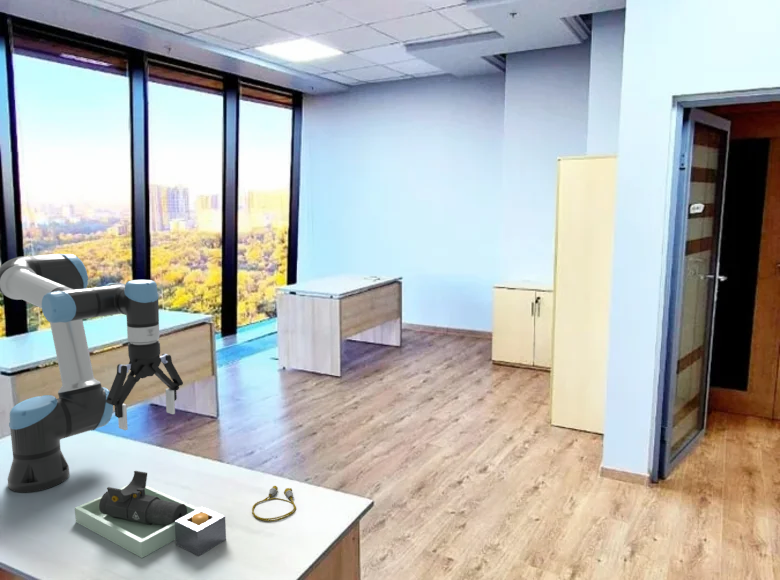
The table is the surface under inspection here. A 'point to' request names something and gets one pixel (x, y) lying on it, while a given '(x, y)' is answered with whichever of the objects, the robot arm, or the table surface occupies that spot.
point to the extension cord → (272, 492)
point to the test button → (199, 518)
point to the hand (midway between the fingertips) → (147, 420)
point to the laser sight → (140, 504)
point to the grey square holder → (200, 532)
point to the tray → (129, 526)
